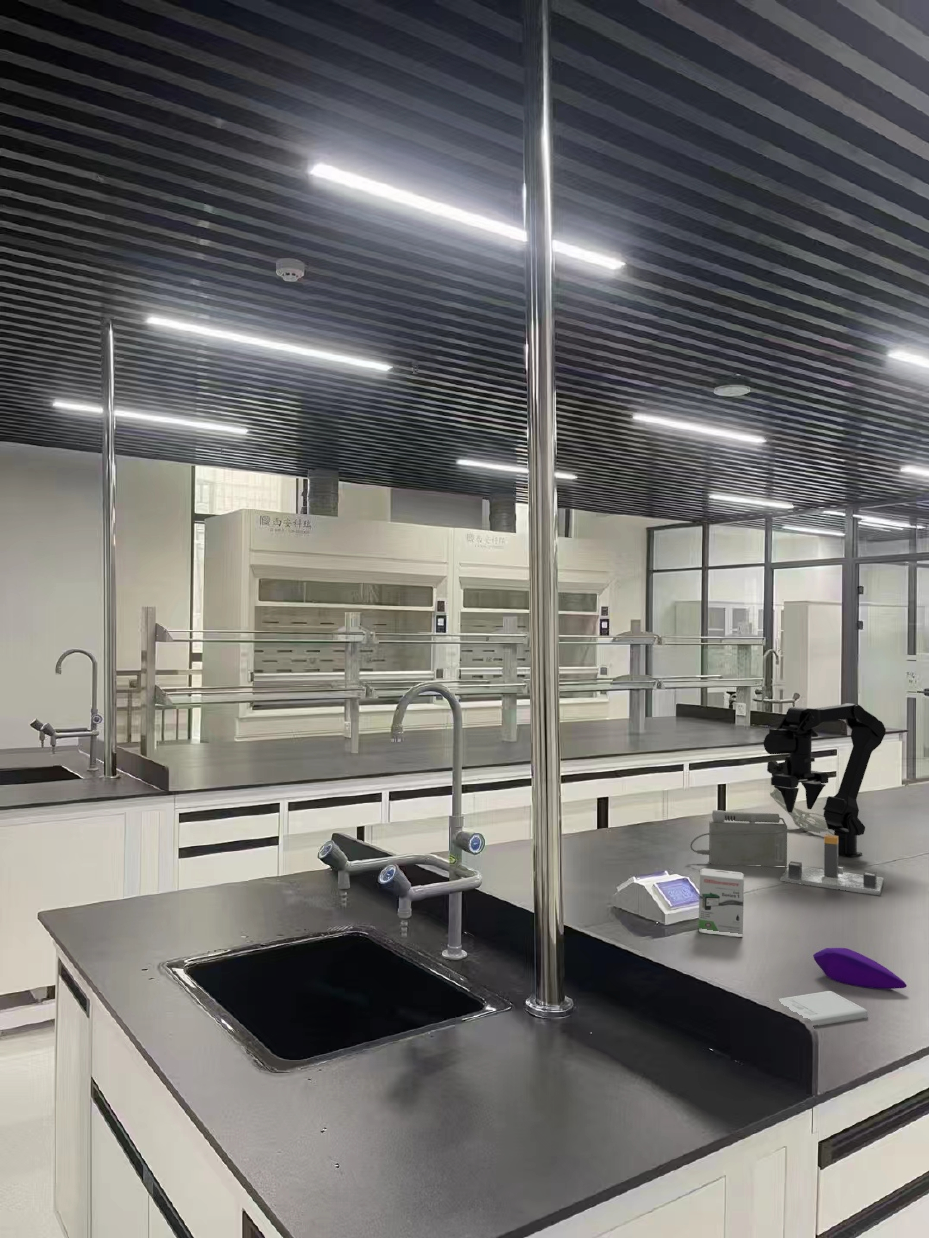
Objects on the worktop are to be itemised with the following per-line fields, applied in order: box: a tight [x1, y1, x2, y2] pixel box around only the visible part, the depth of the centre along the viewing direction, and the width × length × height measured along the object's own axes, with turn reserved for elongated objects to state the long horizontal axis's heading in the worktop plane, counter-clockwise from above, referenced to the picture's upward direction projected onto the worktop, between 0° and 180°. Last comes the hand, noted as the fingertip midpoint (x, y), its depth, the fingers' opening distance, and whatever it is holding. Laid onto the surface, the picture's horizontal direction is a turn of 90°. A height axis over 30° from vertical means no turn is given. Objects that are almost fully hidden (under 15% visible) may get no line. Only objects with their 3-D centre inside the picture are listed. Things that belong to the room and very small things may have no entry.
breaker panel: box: [780, 861, 885, 897], centre depth 211 cm, size 14×22×4 cm, turn 61°
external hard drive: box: [778, 990, 869, 1026], centre depth 134 cm, size 2×8×12 cm
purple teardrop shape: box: [812, 947, 908, 990], centre depth 147 cm, size 5×5×15 cm
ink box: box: [698, 867, 745, 935], centre depth 172 cm, size 9×5×12 cm, turn 73°
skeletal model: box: [769, 788, 834, 835], centre depth 271 cm, size 16×9×25 cm
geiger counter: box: [689, 809, 788, 867], centre depth 226 cm, size 14×6×25 cm
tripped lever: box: [823, 834, 839, 877], centre depth 209 cm, size 3×3×10 cm
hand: (799, 810), depth 234 cm, fingers open, 9 cm apart
